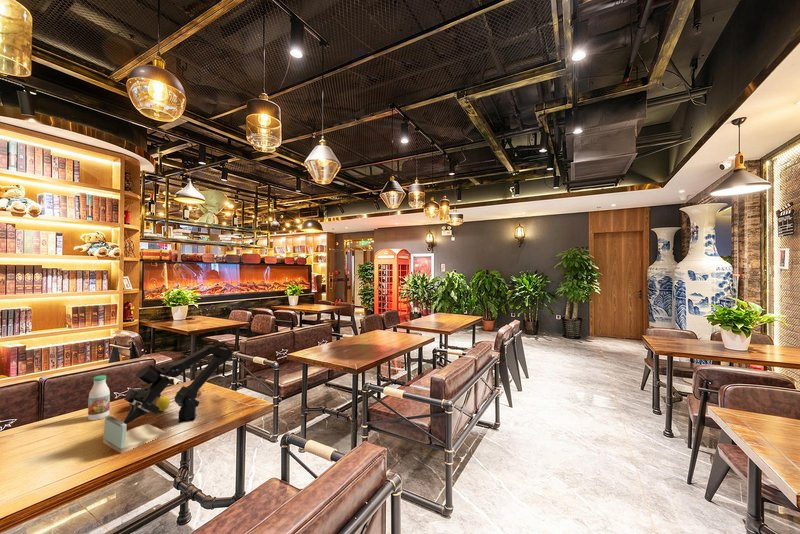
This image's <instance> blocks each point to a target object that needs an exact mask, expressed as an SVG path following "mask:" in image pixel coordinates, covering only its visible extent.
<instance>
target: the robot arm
mask: <svg viewBox="0 0 800 534" xmlns="http://www.w3.org/2000/svg"><path fill="white" fill-rule="evenodd" d="M210 355H212V358H211V360H210V362H209V363H208V364H207V365H206V366H205V367H204V368H203V370H202V371H200V373H199V374H198V375H197V376H196V377H195V379H194V380H192V382H191V383H190V384H189V385H187V386H184V385H183V386H181V387H180V389H179V390H178V391H177V392H176V394H175V396H174V402H175V404H176V405H178V407H180V408H179V411H178V418H177V419H178V423H184V422H192V421H195V420H196V418H197V416H198V414H197V407H199V405H200V401H199V400H197V399H196V397H197V393H198V390H199V389H200V390H201V388H202V387H203V386H204V384H205V383H206V382H207V381H208V379H209V378H211V376H212V375H213V374H214V373H215V371H216V370H217V369H218V368H219V367H220V366H221V365H223V364H225V363H227V361H229V360H230V359H231V358H232V357H233V351H232V349H230V348H226V347H216V346H215V345H206V346H204V347H203V348H201V349H199V350H198V351H195V352H194V353H192V354H190V355H188V356H186V357H184V358H182V359H179V360H174V361H172V362H169V363H167V364H165V365H164V366H161V367H160V368H157V367H155V366H154V365H153V364H148V365H147V366H144V367H143V368H141V369H140V370H139V371H138V372H137V373H136V375H135V376H136V377H135V378H136V379H138V380H140V381H142V382H143V383H145V384H146V385H149V387H148V386H147V387H148V388H145V387H143V388H144V389H143V388H139V389H138V388H128V390H127V392H126V393H125V398H124V401H125V402H128V403H129V411H128V413H127V415H126V417H125V419H124V421H123V422H124V423H125V424H127V425H128V424H129V423H131V422H133V421H135V420H136V419H138V418H140V417H142V416H144V415H145V414H148V413H149V412H150V413H151V414H154V415H157V413H159V412H160V410H159V407H158V406H156V405H154V404H153V402H154V400H155V399H156V398H157V397H159V398H160V397H162V394H161V393H163V391H164V390H165V389H166V388H167V386H169V385H171V386H174V385H175V381H174V380H175V379H174V378H178V377H179V376H180V375H182V374H183V373H184V372H186V370H187V369H188V368H189V367H191V366H192V365H194V364H197V363H198V362H199V361H201V360H203V359H205V358H206V357H209V356H210ZM169 377H170V378H169ZM197 398H198V397H197Z"/></svg>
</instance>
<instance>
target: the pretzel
mask: <svg viewBox="0 0 800 534" xmlns="http://www.w3.org/2000/svg"><path fill="white" fill-rule="evenodd" d="M201 395H202V391H201V388H200V389H199V390H198V393H197V398H199V397H201Z"/></svg>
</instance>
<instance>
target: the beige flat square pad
mask: <svg viewBox="0 0 800 534" xmlns="http://www.w3.org/2000/svg"><path fill="white" fill-rule="evenodd" d="M164 435H166V436H167V432H166V431H165V430H163V429H161V428H158V427H157V426H154V425H152V424H150V423H144V424H142V425H140V426H136V427H134V428H131V429H128V430H126V439H125V448H122V449H120V448H119V447H117V446H115V445H114V444H112V443H110V442H109V441H107V440H105V439H103V440H102V444H104V445H105V446H108V447H109V448H111V449H112V450H114V451H115V452H117V453H119V454H123V453H126V452H129V451H131V450H133V448H134V449H136V448H138V446H139V447H141V446H144V445H145V443H146V444H147V443H148V442H149V443H151V442H153V441H152V440H154V441H156V440H158V439H157V438H159V437H161V438H163V437H162V436H164ZM164 437H165V436H164ZM155 439H156V440H155ZM159 439H160V438H159ZM150 441H151V442H150ZM149 443H148V444H149ZM143 444H144V445H143Z"/></svg>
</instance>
